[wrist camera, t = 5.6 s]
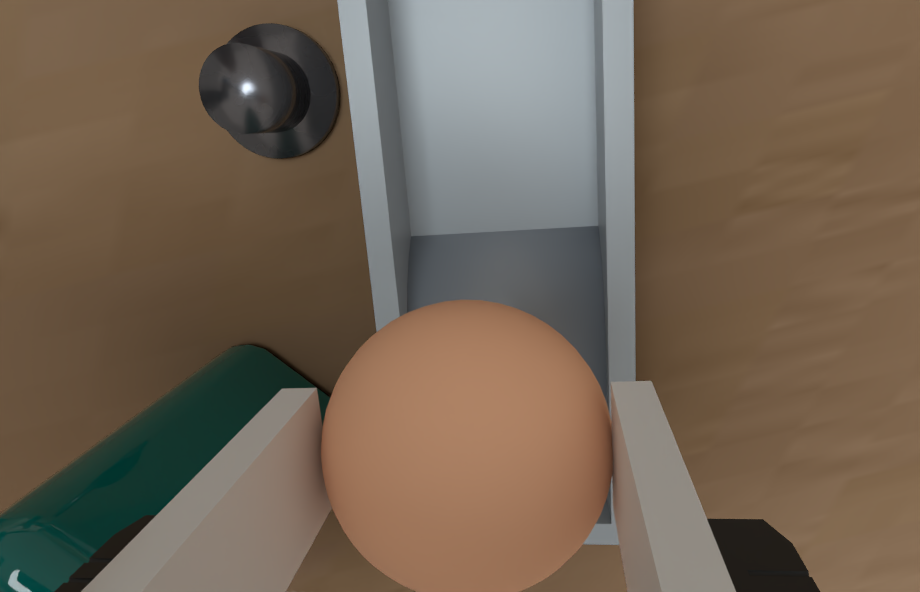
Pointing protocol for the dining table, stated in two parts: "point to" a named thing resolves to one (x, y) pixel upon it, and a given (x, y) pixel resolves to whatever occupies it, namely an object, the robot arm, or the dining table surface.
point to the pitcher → (136, 468)
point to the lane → (501, 165)
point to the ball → (467, 449)
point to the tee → (271, 90)
